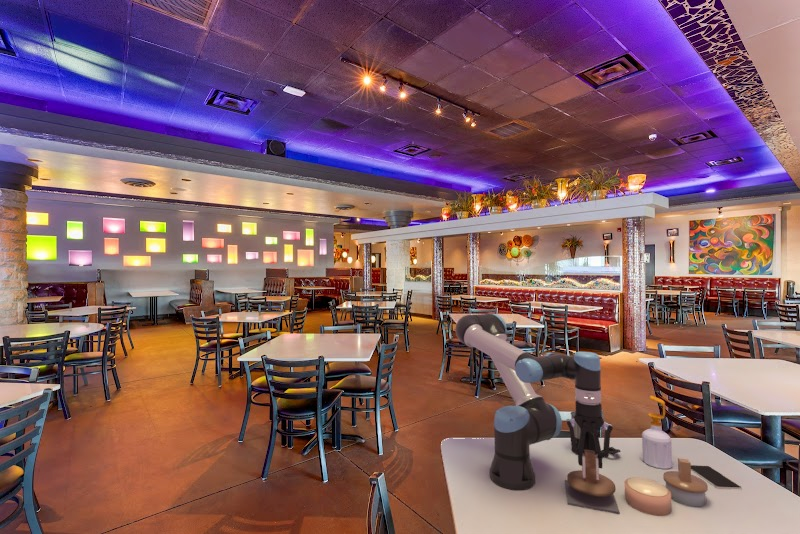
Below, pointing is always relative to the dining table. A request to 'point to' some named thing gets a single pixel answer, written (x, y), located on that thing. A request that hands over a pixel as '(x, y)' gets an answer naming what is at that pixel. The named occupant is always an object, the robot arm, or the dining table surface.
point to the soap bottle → (657, 442)
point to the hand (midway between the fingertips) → (590, 476)
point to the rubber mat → (591, 500)
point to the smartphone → (714, 477)
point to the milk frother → (588, 439)
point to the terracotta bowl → (648, 496)
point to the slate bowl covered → (685, 485)
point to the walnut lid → (591, 478)
